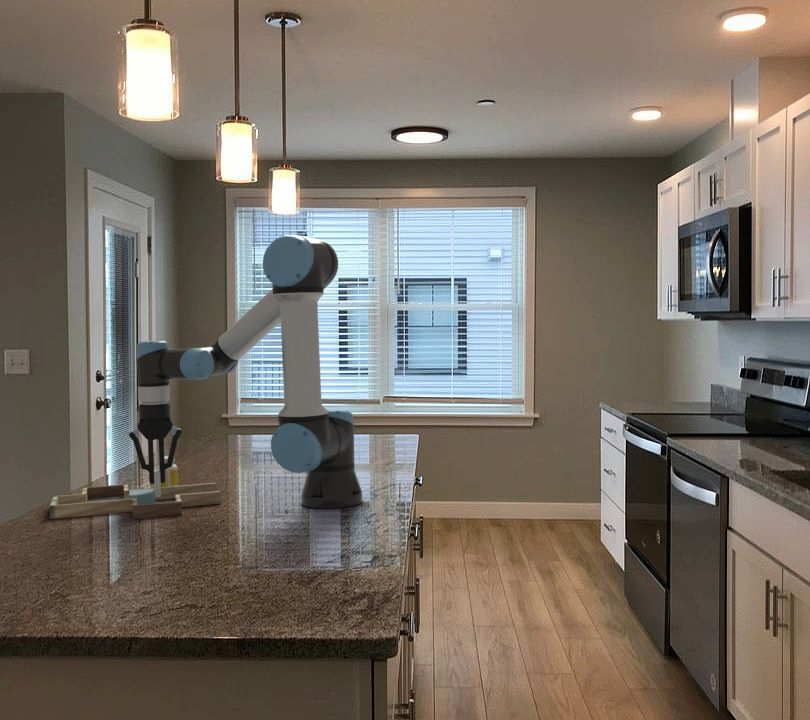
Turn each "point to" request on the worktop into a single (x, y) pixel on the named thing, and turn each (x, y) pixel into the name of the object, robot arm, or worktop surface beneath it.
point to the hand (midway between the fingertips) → (157, 496)
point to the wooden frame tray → (132, 501)
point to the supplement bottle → (170, 475)
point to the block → (143, 496)
